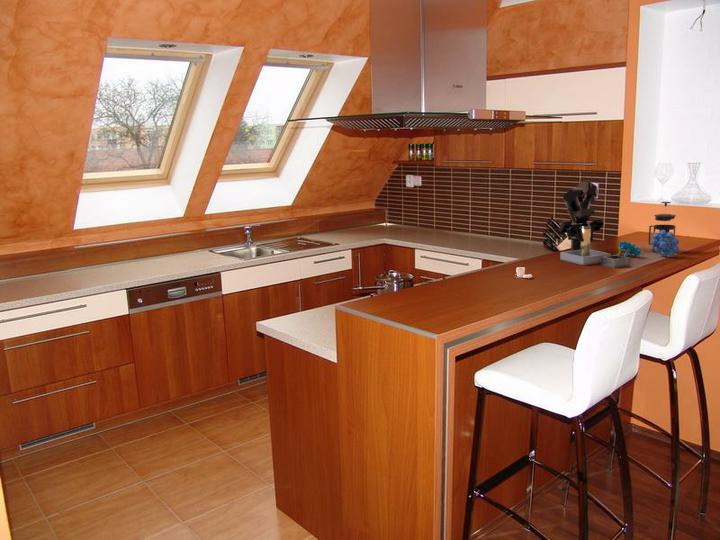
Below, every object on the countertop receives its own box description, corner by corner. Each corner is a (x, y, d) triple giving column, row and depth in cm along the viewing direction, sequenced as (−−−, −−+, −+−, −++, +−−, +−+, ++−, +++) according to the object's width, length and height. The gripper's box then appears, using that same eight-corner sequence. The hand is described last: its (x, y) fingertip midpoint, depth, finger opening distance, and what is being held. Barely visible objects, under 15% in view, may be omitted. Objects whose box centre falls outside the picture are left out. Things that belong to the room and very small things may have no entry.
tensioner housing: (601, 264, 258) (601, 256, 257) (615, 262, 261) (615, 255, 260) (614, 267, 251) (614, 259, 250) (628, 265, 254) (629, 257, 253)
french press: (678, 250, 281) (681, 201, 276) (672, 254, 274) (675, 203, 270) (651, 248, 289) (654, 200, 284) (645, 251, 282) (647, 202, 277)
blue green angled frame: (646, 253, 269) (633, 239, 266) (639, 264, 268) (626, 249, 265) (627, 253, 280) (614, 239, 277) (620, 263, 278) (607, 249, 275)
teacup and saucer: (534, 279, 238) (535, 269, 238) (515, 280, 238) (515, 270, 237) (527, 275, 247) (527, 265, 246) (508, 276, 247) (508, 266, 246)
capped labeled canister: (578, 255, 269) (579, 226, 266) (585, 254, 270) (586, 225, 268) (584, 256, 265) (585, 227, 263) (592, 255, 267) (593, 226, 264)
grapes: (647, 257, 270) (648, 230, 267) (652, 254, 274) (653, 228, 272) (675, 259, 262) (677, 232, 259) (680, 257, 267) (682, 230, 264)
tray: (560, 259, 272) (560, 252, 272) (586, 256, 277) (587, 248, 277) (583, 265, 259) (583, 257, 258) (610, 261, 264) (611, 253, 263)
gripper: (562, 203, 266) (573, 231, 257) (602, 200, 268) (614, 228, 259) (554, 218, 275) (564, 246, 267) (593, 216, 277) (604, 243, 269)
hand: (587, 241), depth 265 cm, fingers closed on capped labeled canister, 4 cm apart
